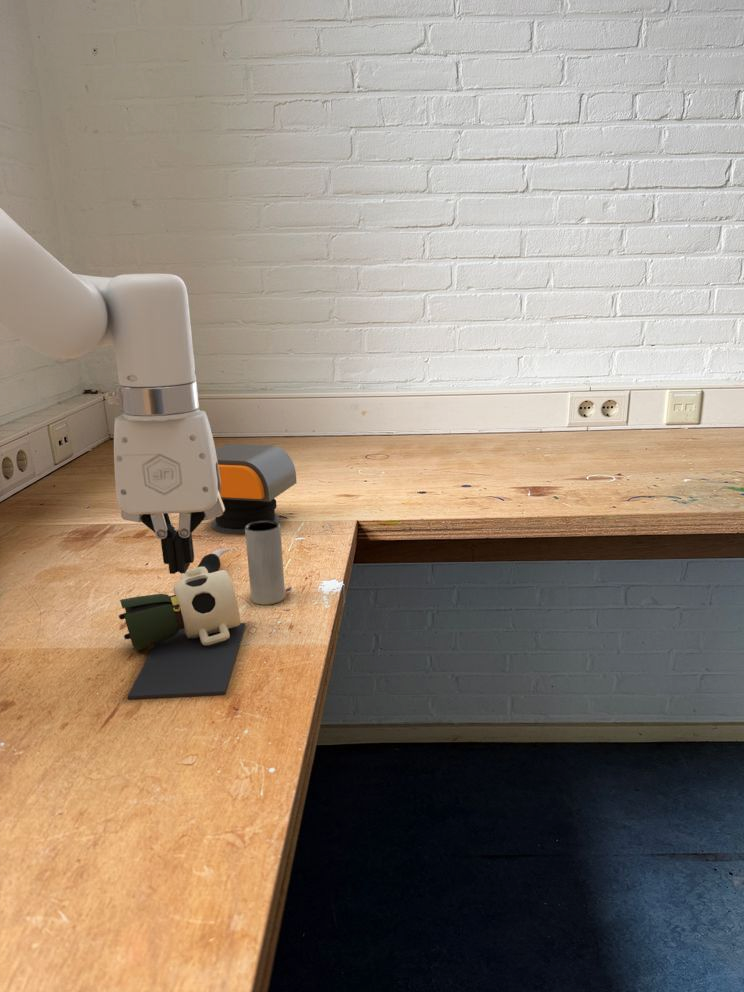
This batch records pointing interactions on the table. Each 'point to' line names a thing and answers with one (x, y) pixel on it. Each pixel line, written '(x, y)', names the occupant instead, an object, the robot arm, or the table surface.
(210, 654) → the mat
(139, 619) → the character mug
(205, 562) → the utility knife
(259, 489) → the toy turret
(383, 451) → the table surface
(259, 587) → the grey hollow cylinder
